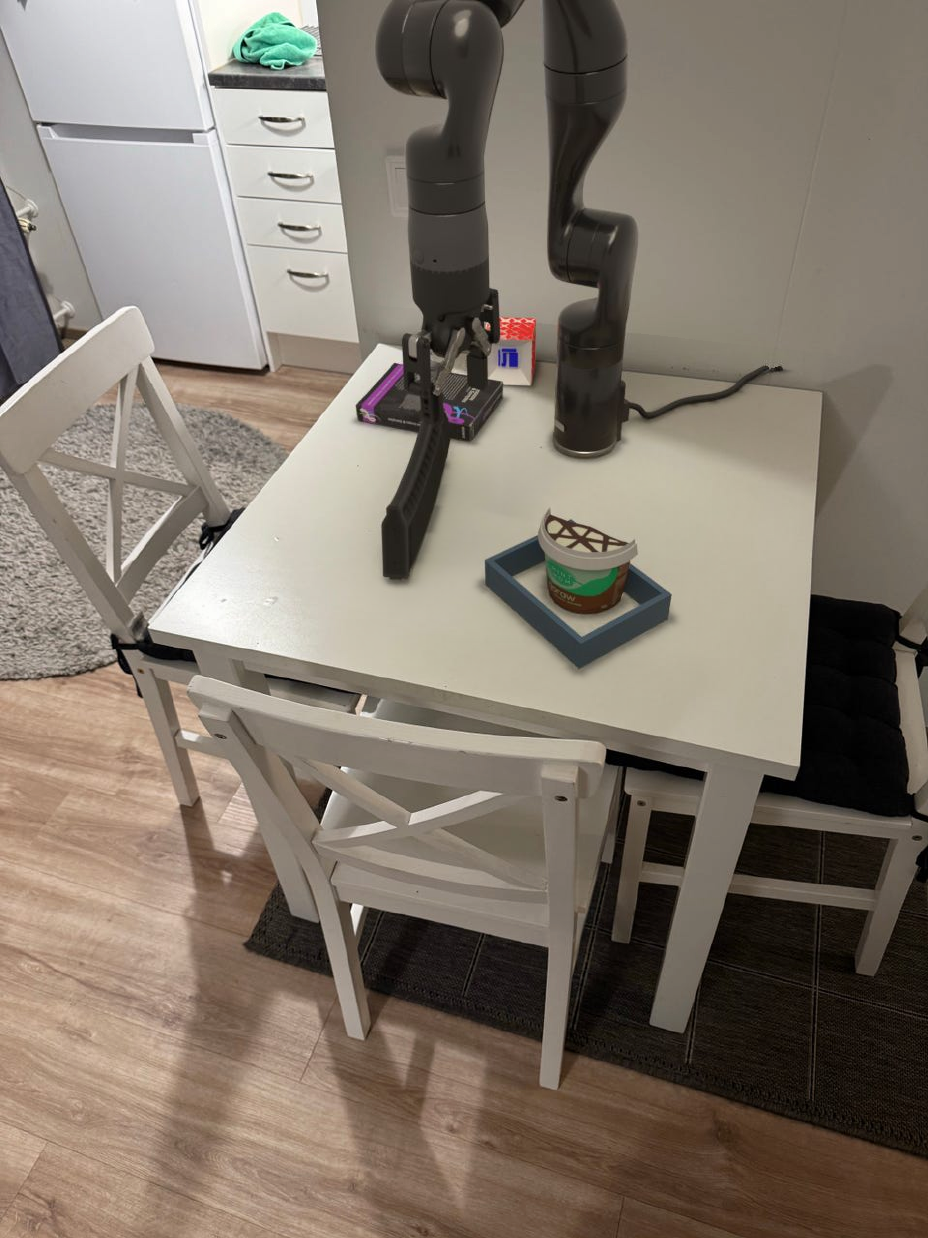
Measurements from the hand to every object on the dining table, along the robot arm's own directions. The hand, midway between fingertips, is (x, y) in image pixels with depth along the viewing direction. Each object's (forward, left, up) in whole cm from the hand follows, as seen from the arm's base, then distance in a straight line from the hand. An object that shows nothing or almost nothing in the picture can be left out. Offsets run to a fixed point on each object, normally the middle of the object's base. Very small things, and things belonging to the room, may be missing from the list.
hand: (456, 404), depth 97 cm
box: (-20, -37, -25) cm, 49 cm away
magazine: (-3, -15, -25) cm, 30 cm away
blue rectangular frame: (-9, +11, -25) cm, 29 cm away
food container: (-9, +11, -25) cm, 29 cm away
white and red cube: (-37, -39, -25) cm, 59 cm away
